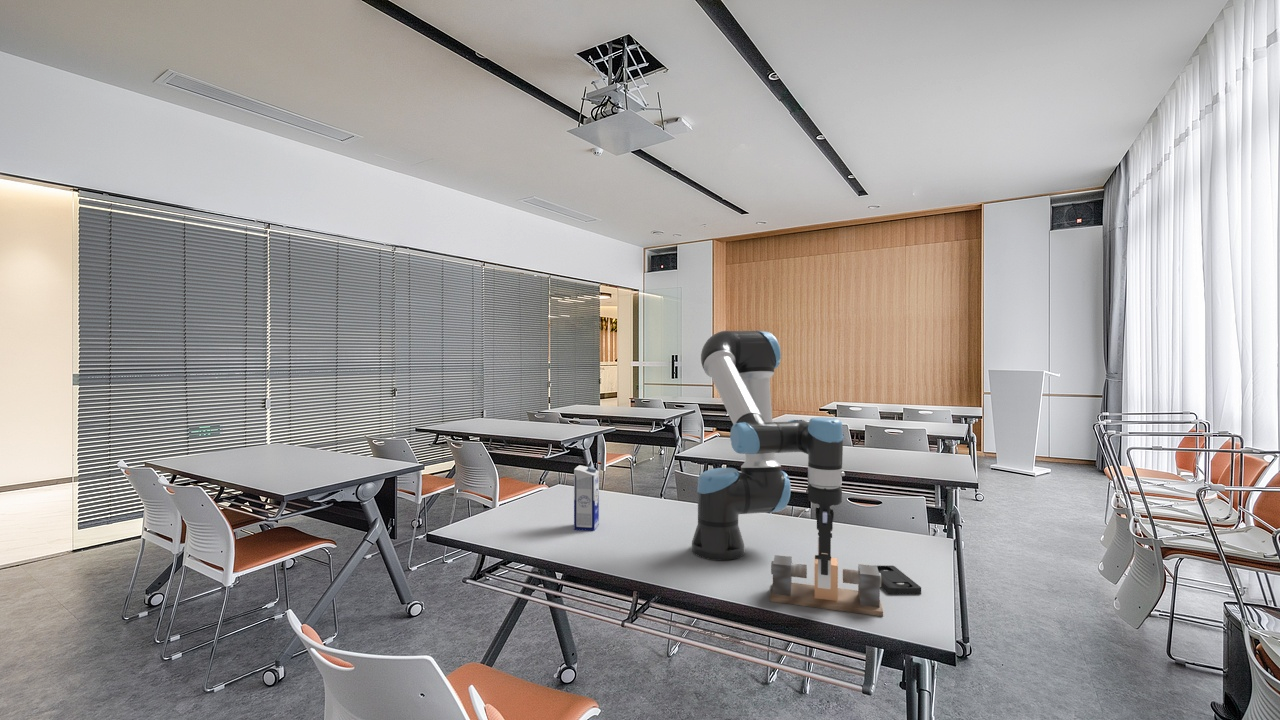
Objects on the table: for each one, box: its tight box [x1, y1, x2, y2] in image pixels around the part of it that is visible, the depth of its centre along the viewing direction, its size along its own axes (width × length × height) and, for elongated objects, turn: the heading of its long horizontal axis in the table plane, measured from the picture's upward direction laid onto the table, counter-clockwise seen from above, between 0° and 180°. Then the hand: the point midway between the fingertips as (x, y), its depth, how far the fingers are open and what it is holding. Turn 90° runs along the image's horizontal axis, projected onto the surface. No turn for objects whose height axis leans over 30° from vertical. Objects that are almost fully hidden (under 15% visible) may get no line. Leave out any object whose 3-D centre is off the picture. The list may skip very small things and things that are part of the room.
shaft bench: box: [769, 554, 884, 617], centre depth 129 cm, size 24×10×8 cm, turn 72°
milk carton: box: [573, 464, 600, 532], centre depth 183 cm, size 7×7×20 cm
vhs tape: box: [876, 565, 922, 595], centre depth 139 cm, size 14×8×2 cm, turn 1°
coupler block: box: [814, 557, 839, 601], centre depth 129 cm, size 5×5×8 cm
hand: (823, 576), depth 129 cm, fingers open, 13 cm apart
